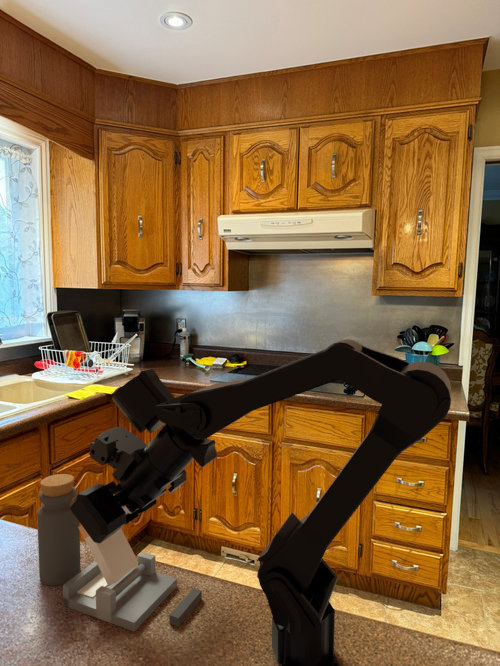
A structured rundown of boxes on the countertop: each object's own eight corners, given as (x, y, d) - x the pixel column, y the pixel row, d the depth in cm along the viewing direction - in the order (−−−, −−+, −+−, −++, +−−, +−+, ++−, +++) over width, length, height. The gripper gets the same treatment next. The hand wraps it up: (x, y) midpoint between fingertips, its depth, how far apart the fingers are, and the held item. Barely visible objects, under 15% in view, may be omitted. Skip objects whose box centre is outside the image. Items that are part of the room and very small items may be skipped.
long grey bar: (193, 596, 66) (193, 588, 65) (201, 598, 65) (201, 590, 65) (169, 623, 60) (169, 615, 60) (178, 626, 59) (178, 618, 59)
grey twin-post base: (177, 586, 68) (176, 561, 67) (134, 631, 59) (133, 603, 58) (112, 566, 72) (111, 543, 72) (63, 605, 63) (62, 579, 63)
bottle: (66, 588, 67) (63, 489, 66) (30, 583, 68) (27, 485, 67) (88, 565, 73) (85, 473, 71) (55, 561, 74) (52, 470, 73)
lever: (148, 569, 68) (114, 504, 69) (117, 597, 61) (81, 525, 63) (140, 573, 68) (107, 509, 70) (109, 601, 62) (73, 530, 64)
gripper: (166, 397, 71) (113, 459, 76) (77, 430, 54) (16, 506, 59) (213, 453, 69) (155, 512, 74) (134, 505, 52) (65, 578, 57)
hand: (103, 523), depth 66 cm, fingers closed, pressing on lever
